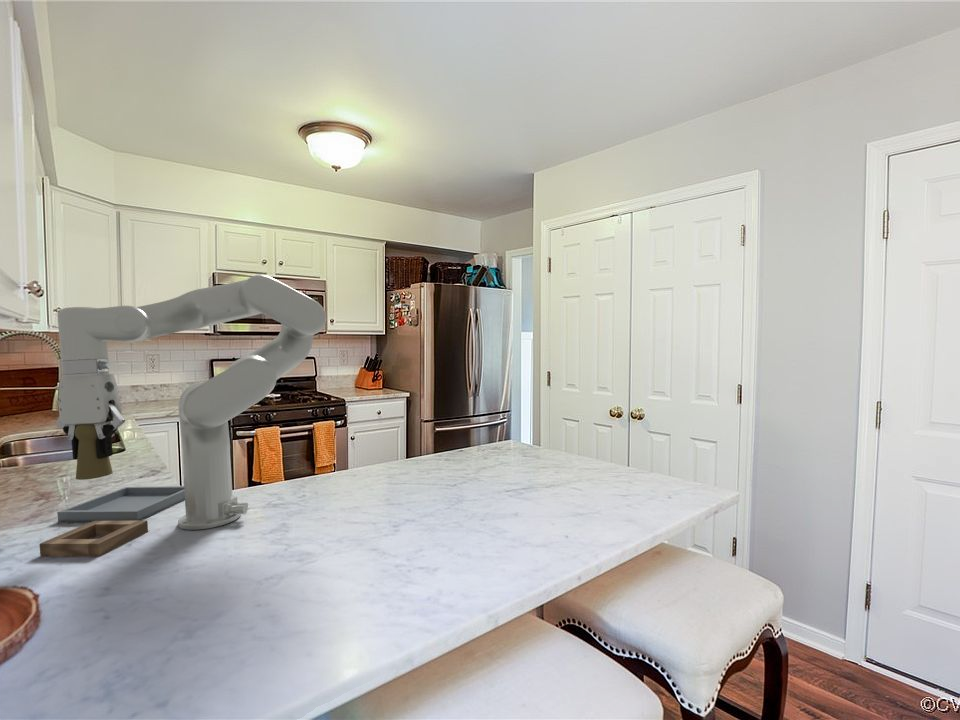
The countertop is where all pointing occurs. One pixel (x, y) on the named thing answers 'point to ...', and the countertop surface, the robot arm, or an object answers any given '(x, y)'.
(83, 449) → the cork
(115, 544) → the socket block
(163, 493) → the tray
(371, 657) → the countertop surface
